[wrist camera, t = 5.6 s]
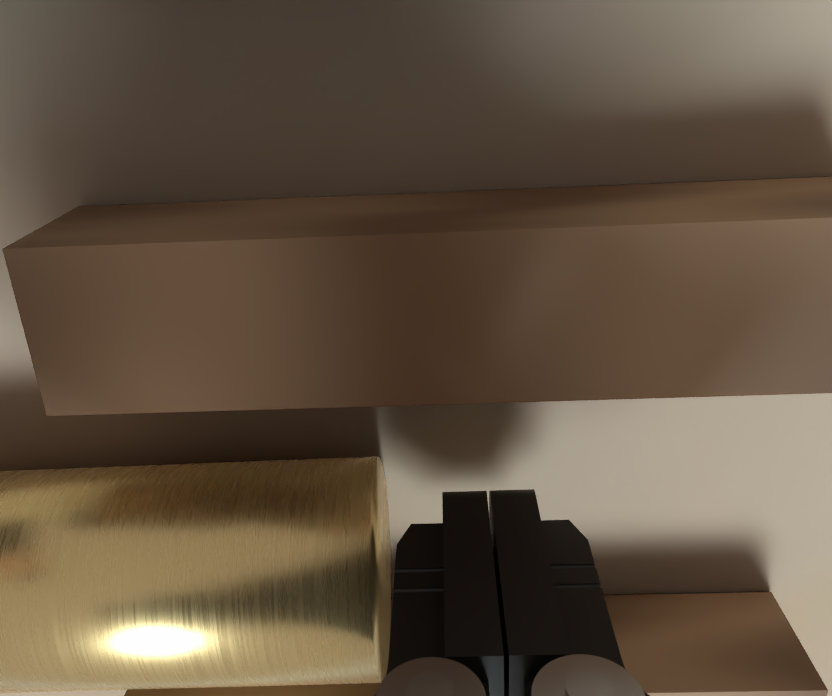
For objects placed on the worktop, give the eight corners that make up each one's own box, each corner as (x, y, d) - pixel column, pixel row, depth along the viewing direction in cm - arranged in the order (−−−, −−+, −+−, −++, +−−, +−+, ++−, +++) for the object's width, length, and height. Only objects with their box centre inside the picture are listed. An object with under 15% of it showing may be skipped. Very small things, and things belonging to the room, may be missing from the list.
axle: (375, 412, 13) (365, 615, 10) (392, 531, 16) (388, 719, 13) (-201, 436, 14) (-348, 637, 11) (-94, 548, 16) (-193, 733, 13)
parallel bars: (843, 176, 12) (933, 213, 10) (754, 686, 16) (804, 793, 14) (78, 206, 12) (1, 249, 10) (185, 696, 17) (148, 800, 15)
